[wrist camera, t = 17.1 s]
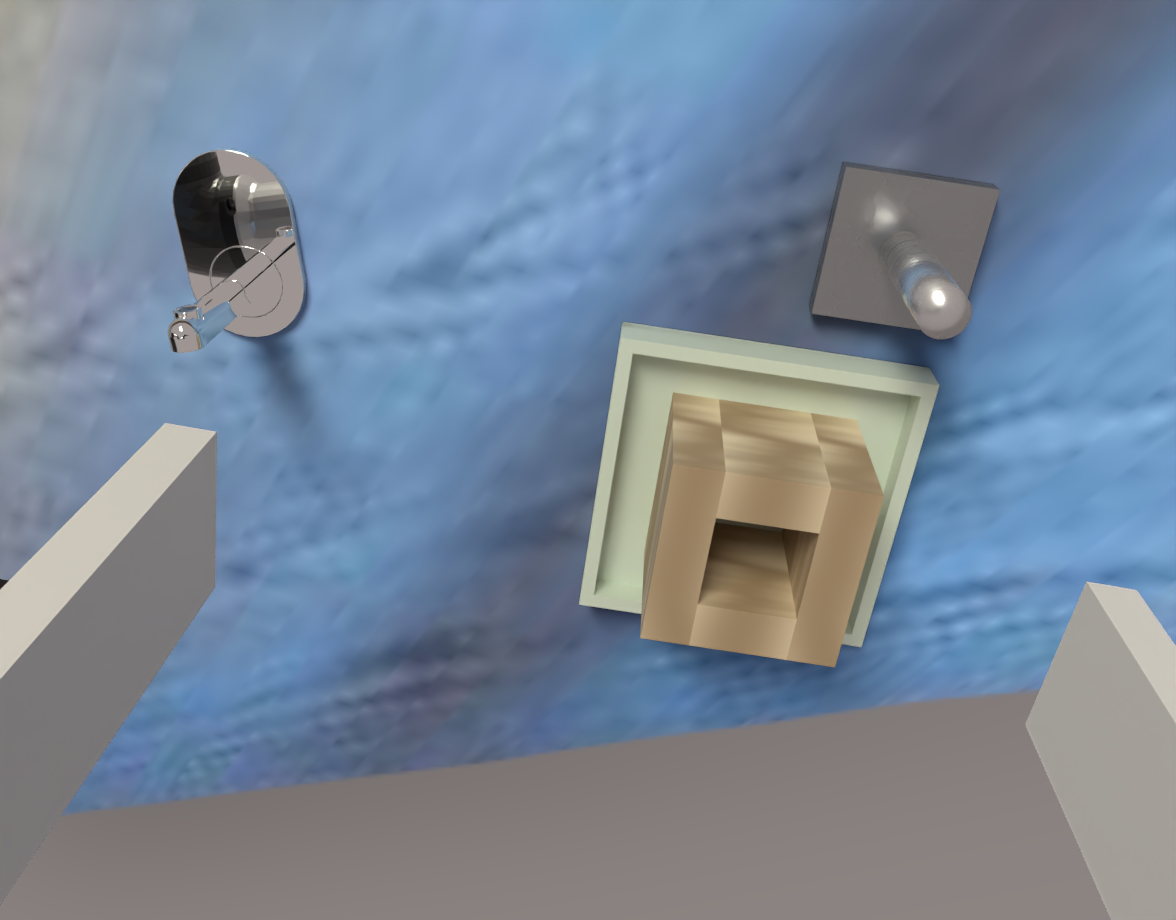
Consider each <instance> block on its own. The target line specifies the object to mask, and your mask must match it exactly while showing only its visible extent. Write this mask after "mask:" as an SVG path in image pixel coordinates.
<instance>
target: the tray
mask: <svg viewBox="0 0 1176 920" xmlns="http://www.w3.org/2000/svg"><path fill="white" fill-rule="evenodd" d="M938 389H939V384H938V382H937V380H936V379H935V377H934V375H933V373H932V372H931V370H930V368H927V367H921V366H914V365H907V364H901V363H894V362H887V361H881V360H874V359H867V358H861V357H854V356H848V355H841V354H834V353H828V352H821V351H814V350H808V349H801V348H794V347H788V346H781V345H774V344H768V343H761V342H754V341H748V340H741V339H734V338H728V337H721V336H715V335H708V334H701V333H695V332H688V331H681V330H675V329H668V328H661V327H655V326H648V325H641V324H635V323H628V322H622V328H621V335H620V341H619V348H618V354H617V361H616V367H615V374H614V380H613V386H612V393H611V399H610V406H609V412H608V419H607V425H606V432H605V438H604V444H603V451H602V457H601V464H600V470H599V477H598V483H597V490H596V496H595V502H594V509H593V515H592V522H591V528H590V535H589V541H588V548H587V554H586V560H585V567H584V573H583V580H582V587H581V594H580V601H579V605H586V606H592V607H599V608H606V609H612V610H619V611H626V612H632V613H639V614H641V612H642V591H643V569H644V549H645V544H646V538H647V533H648V527H649V522H650V516H651V511H652V505H653V500H654V494H655V489H656V483H657V478H658V472H659V467H660V461H661V456H662V450H663V445H664V439H665V434H666V428H667V423H668V417H669V412H670V406H671V401H672V395H673V392H674V393H681V394H688V395H694V396H701V397H708V398H714V399H721V400H728V401H734V402H741V403H748V404H754V405H761V406H768V407H774V408H781V409H788V410H794V411H801V412H808V413H814V414H821V415H828V416H834V417H841V418H848V419H854V420H857V423H858V425H859V428H860V431H861V434H862V436H863V439H864V442H865V445H866V447H867V450H868V453H869V456H870V458H871V461H872V464H873V467H874V469H875V472H876V475H877V478H878V480H879V483H880V486H881V489H882V491H883V494H884V498H883V502H882V505H881V509H880V512H879V516H878V519H877V522H876V526H875V529H874V533H873V536H872V540H871V543H870V547H869V550H868V554H867V557H866V561H865V564H864V568H863V571H862V575H861V578H860V582H859V585H858V589H857V592H856V596H855V599H854V603H853V606H852V609H851V613H850V616H849V620H848V623H847V627H846V630H845V634H844V637H843V641H842V644H844V645H850V646H857V647H862V644H863V640H864V637H865V634H866V630H867V627H868V624H869V620H870V617H871V614H872V610H873V607H874V604H875V600H876V597H877V594H878V590H879V587H880V583H881V580H882V577H883V573H884V570H885V567H886V563H887V560H888V557H889V553H890V550H891V547H892V543H893V540H894V536H895V533H896V530H897V526H898V523H899V520H900V516H901V513H902V510H903V506H904V503H905V500H906V496H907V493H908V490H909V486H910V483H911V479H912V476H913V473H914V469H915V466H916V463H917V459H918V456H919V453H920V449H921V446H922V443H923V439H924V436H925V433H926V429H927V426H928V422H929V419H930V416H931V412H932V409H933V406H934V402H935V399H936V396H937V392H938ZM715 522H717V523H724V524H730V525H737V526H743V527H750V528H757V529H763V530H770V531H777V532H782V528H779V527H772V526H765V525H759V524H752V523H745V522H739V521H732V520H725V519H719V518H716V520H715Z"/></svg>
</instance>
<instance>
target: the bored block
mask: <svg viewBox="0 0 1176 920" xmlns="http://www.w3.org/2000/svg"><path fill="white" fill-rule="evenodd" d="M883 498H884V494H883V491H882V489H881V486H880V483H879V480H878V478H877V475H876V472H875V469H874V467H873V464H872V461H871V458H870V456H869V453H868V450H867V447H866V445H865V442H864V439H863V436H862V434H861V431H860V428H859V425H858V423H857V420H854V419H848V418H841V417H834V416H828V415H821V414H814V413H808V412H801V411H794V410H788V409H781V408H774V407H768V406H761V405H754V404H748V403H741V402H734V401H728V400H721V399H714V398H708V397H701V396H694V395H688V394H681V393H674V392H673V395H672V401H671V406H670V412H669V417H668V423H667V428H666V434H665V439H664V445H663V450H662V456H661V461H660V467H659V472H658V478H657V483H656V489H655V494H654V500H653V505H652V511H651V516H650V522H649V527H648V533H647V538H646V544H645V549H644V569H643V591H642V612H641V634H640V638H644V639H650V640H657V641H664V642H670V643H677V644H684V645H690V646H697V647H704V648H710V649H717V650H723V651H730V652H737V653H743V654H750V655H757V656H763V657H770V658H776V659H783V660H790V661H796V662H803V663H810V664H816V665H823V666H829V667H835V665H836V662H837V658H838V655H839V651H840V648H841V644H842V641H843V637H844V634H845V630H846V627H847V623H848V620H849V616H850V613H851V609H852V606H853V603H854V599H855V596H856V592H857V589H858V585H859V582H860V578H861V575H862V571H863V568H864V564H865V561H866V557H867V554H868V550H869V547H870V543H871V540H872V536H873V533H874V529H875V526H876V522H877V519H878V516H879V512H880V509H881V505H882V502H883ZM716 518H719V519H725V520H732V521H739V522H745V523H752V524H759V525H765V526H772V527H779V528H782V532H777V531H770V530H763V529H757V528H750V527H743V526H737V525H730V524H724V523H717V522H715V520H716Z"/></svg>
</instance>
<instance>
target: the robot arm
mask: <svg viewBox="0 0 1176 920" xmlns="http://www.w3.org/2000/svg"><path fill="white" fill-rule="evenodd" d="M216 452H217V432H214V431H208V430H203V429H197V428H191V427H185V426H179V425H173V424H168V423H165V424H164V425H163V426H162V427H161V428H160V429H159V430H158V431H157V432H156V433H155V434H154V435H153V436H152V437H151V438H150V439H149V440H148V441H147V442H146V443H145V444H144V445H143V446H142V447H141V448H140V449H139V450H138V451H137V452H136V453H135V454H134V455H133V456H132V457H131V458H130V459H129V460H128V461H127V462H126V463H125V464H124V465H123V466H122V467H121V468H120V469H119V470H118V471H117V472H116V473H115V474H114V475H113V476H112V477H111V478H110V480H109V481H108V482H107V483H106V484H105V485H104V486H103V487H102V488H101V489H100V490H99V491H98V492H97V493H96V494H95V495H94V496H93V497H92V498H91V499H90V500H89V501H88V502H87V503H86V504H85V505H84V506H83V507H82V508H81V509H80V510H79V511H78V512H77V513H76V514H75V515H74V516H73V517H72V518H71V519H70V520H69V521H68V522H67V523H66V524H65V525H64V526H63V527H62V528H61V529H60V530H59V531H58V532H57V533H56V534H55V535H54V536H53V537H52V538H51V539H50V540H49V541H48V542H47V543H46V544H45V545H44V546H43V547H42V548H41V549H40V550H39V551H38V552H37V553H36V554H35V555H34V556H33V557H32V558H31V559H30V560H29V561H28V562H27V563H26V564H25V565H24V566H23V567H22V568H21V569H20V570H19V571H18V572H17V573H16V574H15V575H14V576H13V577H12V578H11V579H10V580H9V581H8V580H2V579H0V904H1V903H2V902H3V900H4V899H5V897H6V896H7V894H8V893H9V891H10V890H11V888H12V887H13V885H14V884H15V882H16V881H17V879H18V878H19V876H20V875H21V874H22V872H23V870H24V869H25V867H26V866H27V865H28V863H29V862H30V860H31V859H32V857H33V856H34V854H35V853H36V851H37V850H38V848H39V847H40V845H41V844H42V842H43V841H44V839H45V838H46V837H47V835H48V834H49V832H50V831H51V829H52V828H53V826H54V825H55V823H56V822H57V820H58V819H59V817H60V816H61V814H62V813H63V811H64V810H65V808H66V807H67V805H68V804H69V802H70V801H71V800H72V798H73V797H74V795H75V794H76V792H77V791H78V789H79V788H80V786H81V785H82V783H83V782H84V780H85V779H86V777H87V776H88V774H89V773H90V771H91V770H92V768H93V767H94V765H95V764H96V763H97V761H98V760H99V758H100V757H101V755H102V754H103V752H104V751H105V749H106V748H107V746H108V745H109V743H110V742H111V740H112V739H113V737H114V736H115V734H116V733H117V731H118V730H119V728H120V727H121V726H122V724H123V723H124V721H125V720H126V718H127V717H128V715H129V714H130V712H131V711H132V709H133V708H134V706H135V705H136V703H137V702H138V700H139V699H140V697H141V696H142V694H143V693H144V691H145V690H146V689H147V687H148V686H149V684H150V683H151V681H152V680H153V678H154V677H155V675H156V674H157V672H158V671H159V669H160V668H161V666H162V665H163V663H164V662H165V660H166V659H167V657H168V656H169V654H170V653H171V652H172V650H173V649H174V647H175V646H176V644H177V643H178V641H179V640H180V638H181V637H182V635H183V634H184V632H185V631H186V629H187V628H188V626H189V625H190V623H191V622H192V620H193V619H194V617H195V616H196V615H197V613H198V612H199V610H200V609H201V607H202V606H203V604H204V603H205V601H206V600H207V598H208V597H209V595H210V594H211V592H212V591H213V589H214V588H215V551H216ZM1025 725H1026V728H1027V730H1028V732H1029V735H1030V737H1031V739H1032V741H1033V744H1034V746H1035V748H1036V751H1037V752H1038V755H1039V757H1040V760H1041V762H1042V764H1043V766H1044V769H1045V771H1046V773H1047V776H1048V778H1049V780H1050V782H1051V785H1052V787H1053V789H1054V791H1055V794H1056V796H1057V798H1058V800H1059V802H1060V805H1061V807H1062V810H1063V812H1064V814H1065V816H1066V818H1067V821H1068V823H1069V825H1070V828H1071V830H1072V832H1073V834H1074V837H1075V839H1076V841H1077V843H1078V846H1079V848H1080V850H1081V853H1082V855H1083V857H1084V859H1085V862H1086V864H1087V866H1088V868H1089V871H1090V873H1091V875H1092V878H1093V880H1094V882H1095V884H1096V886H1097V889H1098V891H1099V893H1100V896H1101V898H1102V900H1103V902H1104V905H1105V907H1106V909H1107V911H1108V914H1109V916H1110V918H1111V920H1176V646H1175V644H1174V643H1173V642H1172V640H1171V639H1170V637H1169V636H1168V634H1167V633H1166V632H1165V630H1164V629H1163V627H1162V626H1161V624H1160V623H1159V621H1158V620H1157V619H1156V617H1155V616H1154V614H1153V613H1152V611H1151V610H1150V609H1149V607H1148V606H1147V604H1146V603H1145V601H1144V600H1143V598H1142V597H1141V596H1140V594H1139V593H1138V591H1137V590H1133V589H1127V588H1121V587H1115V586H1109V585H1103V584H1098V583H1092V582H1086V584H1085V586H1084V589H1083V591H1082V593H1081V596H1080V598H1079V600H1078V603H1077V605H1076V607H1075V610H1074V612H1073V614H1072V617H1071V619H1070V621H1069V624H1068V626H1067V628H1066V631H1065V633H1064V635H1063V638H1062V640H1061V642H1060V645H1059V647H1058V649H1057V652H1056V654H1055V656H1054V659H1053V661H1052V663H1051V666H1050V668H1049V671H1048V673H1047V675H1046V678H1045V680H1044V682H1043V685H1042V687H1041V689H1040V692H1039V694H1038V696H1037V699H1036V701H1035V703H1034V706H1033V708H1032V710H1031V713H1030V715H1029V717H1028V720H1027V722H1026V724H1025Z"/></svg>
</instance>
